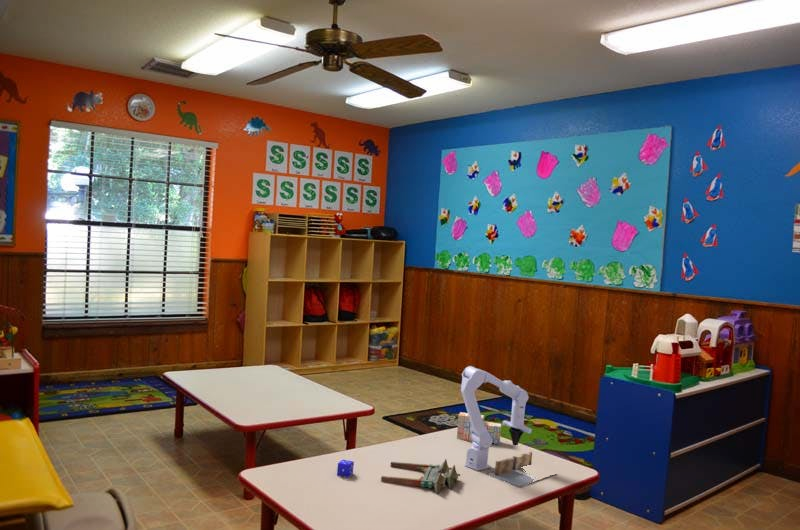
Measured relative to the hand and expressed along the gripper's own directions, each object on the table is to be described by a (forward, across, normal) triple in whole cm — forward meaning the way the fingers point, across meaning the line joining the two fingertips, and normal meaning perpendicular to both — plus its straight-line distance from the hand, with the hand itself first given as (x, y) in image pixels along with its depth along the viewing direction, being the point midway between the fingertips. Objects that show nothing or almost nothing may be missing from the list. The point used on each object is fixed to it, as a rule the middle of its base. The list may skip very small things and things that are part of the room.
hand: (515, 444), depth 273 cm
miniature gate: (+10, +10, +49) cm, 51 cm away
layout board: (+9, -10, +7) cm, 15 cm away
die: (+9, +30, +73) cm, 80 cm away
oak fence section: (+8, -5, 0) cm, 9 cm away
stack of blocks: (+9, +32, -14) cm, 36 cm away
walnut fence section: (+8, -5, +13) cm, 16 cm away
